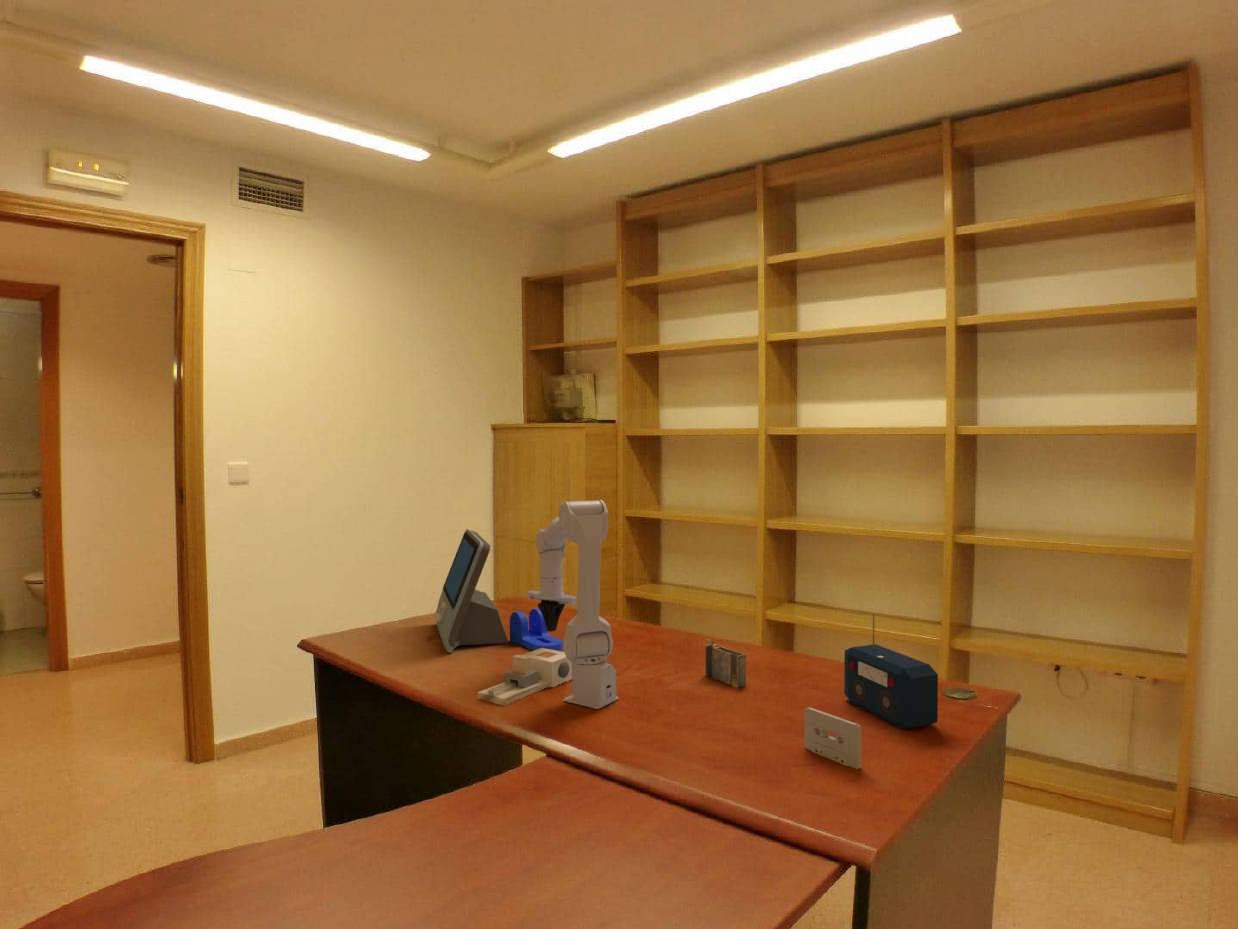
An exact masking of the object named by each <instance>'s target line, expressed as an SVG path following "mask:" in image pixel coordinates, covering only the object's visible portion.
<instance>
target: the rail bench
mask: <svg viewBox="0 0 1238 929" xmlns="http://www.w3.org/2000/svg"><path fill="white" fill-rule="evenodd" d="M504 684H506V683H504V682H502V683H498V684H496V685H493V686H490V687H488V688H485V689H483V690H481V691H478V692H477V699H478V700H480V699H482V700H481V701H484V700H486V701H485V702H488V701H489V703H492V702H493V704H497V705H499V706H503V705H505V706H508V705H510V704H512V703H514V702H513V701H515V700H517V701H519V700H518V699H520V700H522V699H524V698H527V697H528V696H527V695H529V694H531V695H533V694H532V693H534V694H536V693H538V691H539V692H541V691H543V690H545V689H544V688H546V687H548V688H550V687H549V681H548V680H544V679H539V682H537V683H535V684H532V685H530V686H527V687H525V688H523V687H516V688H513V689H511V690H508V691H506V692H503V693H501V694H498V695H496V696H491V695H488V690H491V689H493V688H496V687H498V686H501V685H504ZM542 689H543V690H542ZM546 689H547V688H546ZM540 690H541V691H540ZM535 692H536V693H535ZM526 696H527V697H526ZM529 696H530V695H529ZM523 697H524V698H523ZM511 702H512V703H511ZM515 702H516V701H515ZM509 703H510V704H509ZM507 704H508V705H507Z"/></svg>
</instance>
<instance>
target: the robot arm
mask: <svg viewBox="0 0 1238 929" xmlns="http://www.w3.org/2000/svg"><path fill="white" fill-rule="evenodd" d="M608 532H609V510H608V508H607V505H606V503H605V502H604V500H602V499H597V500H579V501H576V500H575V501H567V500H563V501H562V502H561V503H560V505H559V508H558V516H555V517H554V518H553V520H551V522H550V523H549V524H548V525H547V527H546V528H545V529H542V528H539V529H537V532H536V534H535V546H536V549H537V552H538V553H539V555H538V556H539V590H529V591H527V592H526V599H527V600H535V601H540V602H539V603H537V608H539V609H540V611H541V613H542V615H543V618H544V620H545V624H546V628H547V631H548V632H550V633H552V632H554V631H555V632H556V631H557V627H558V623H559V620H560V617H561V615H562V614H561V613H562V611H563V610H564V608H565V607H566V605H567V606H571V607H573V606H576V615H575V616H574V617H573V618H572V619H571V620H570V621H569V622H567V623H566V625H565V626H566V627H565V632H564V633H565V634H564V636H563V652H565V655H566V657H567V658H568V659H569V660H570V661H572V680H571V689H572V693H571V695H568V696H567V697H565V698H564V699H563V701H564V702H566V703H569V704H570V703H571V704H575V705H579V706H583V707H587V708H591V709H594V710H595V709H596V710H599V709H601V708H604V707H606V706H607V705H609V704H611V703H613V702H615V701H617V700H618V699H619V696H617V670H616V668H615V666H614V665H613V664H611V663H608V662H607V661H608V657H609V656H610V655H611V654H612V652H613V646H614V642H613V637H612V627H611V625H610V623H609V622H608V621H607V620H606V619H605V618H603V617H602V616H600V595H601V594H600V592H601V591H600V590H601V565H602V564H601V562H602V560H601V554H602V542H603V541H604V540H606V539H607V538H608ZM567 540H569V541H570V542H573V543H575V544H577V546H578V552H577V553H578V555H577V558H578V559H577V560H578V561H577V594H576V596H574V595H570V594H566V593H565V592H564V591H563V590H564V587H563V586H564V585H563V584H564V583H563V582H564V581H563V580H564V578H563V576H564V575H563V560H564V558H565V550H566V545H567V544H566V543H567Z"/></svg>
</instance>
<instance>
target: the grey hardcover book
mask: <svg viewBox="0 0 1238 929" xmlns="http://www.w3.org/2000/svg"><path fill="white" fill-rule="evenodd" d="M704 640H705V641H706V643H709V644H708V645H705V647H704V648H705V649H704V650H705V651H704V652H705V653H704V654H705V657H704V658H705V661H704V662H705V667H704V668H705V669H704V670H705V676H710V675H711V678H712V679H715V680H718V681H720V682H722V683H725V684H728V685H730V686H733V687H735V688H741V687H745V686H747V654H746V653H742V652H739V651H736V650H733V649H730V648H727V647H724V646H720V645H718V644H717V643H716V642H715V641H714V640H713V639H709V638H705V637H704Z"/></svg>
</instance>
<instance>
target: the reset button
mask: <svg viewBox="0 0 1238 929" xmlns="http://www.w3.org/2000/svg"><path fill="white" fill-rule="evenodd" d="M539 656H541V657H546V658H549V657H552V656H554V654H549V653H545V654H542V655H539Z"/></svg>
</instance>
